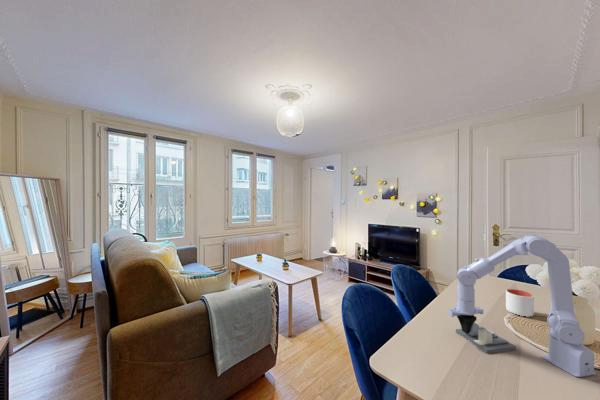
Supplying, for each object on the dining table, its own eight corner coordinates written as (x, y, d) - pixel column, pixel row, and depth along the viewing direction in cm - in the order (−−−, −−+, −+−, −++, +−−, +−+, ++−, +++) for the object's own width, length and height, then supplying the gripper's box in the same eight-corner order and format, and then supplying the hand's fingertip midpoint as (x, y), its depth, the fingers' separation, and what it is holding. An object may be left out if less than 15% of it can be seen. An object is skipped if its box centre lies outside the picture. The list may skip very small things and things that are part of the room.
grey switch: (479, 335, 92) (479, 324, 92) (472, 335, 92) (472, 325, 92) (472, 331, 95) (472, 320, 95) (466, 331, 95) (466, 321, 95)
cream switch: (492, 343, 87) (492, 332, 87) (485, 344, 86) (485, 333, 86) (484, 339, 90) (484, 328, 90) (478, 339, 89) (478, 328, 89)
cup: (539, 319, 108) (539, 298, 108) (514, 317, 110) (514, 296, 110) (523, 309, 117) (523, 289, 117) (501, 307, 119) (501, 288, 119)
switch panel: (516, 349, 86) (516, 345, 86) (486, 353, 84) (486, 348, 84) (482, 329, 99) (482, 325, 99) (455, 332, 97) (455, 328, 97)
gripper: (472, 293, 98) (472, 325, 98) (442, 296, 96) (442, 328, 96) (488, 300, 91) (488, 334, 91) (456, 303, 89) (456, 338, 89)
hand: (465, 332), depth 93 cm, fingers closed
